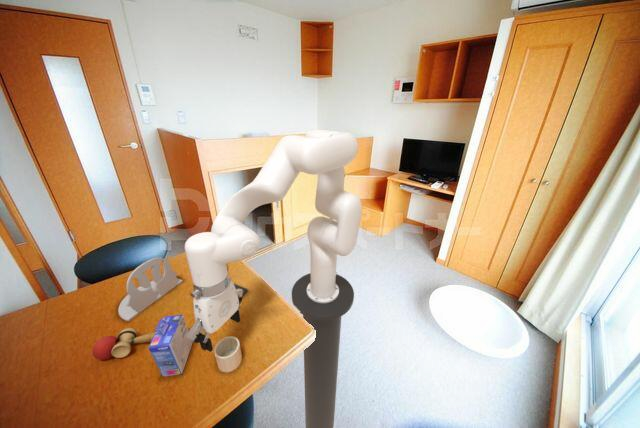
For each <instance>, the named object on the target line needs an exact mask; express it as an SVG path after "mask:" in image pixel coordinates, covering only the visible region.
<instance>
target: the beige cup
mask: <svg viewBox="0 0 640 428" xmlns="http://www.w3.org/2000/svg"><path fill="white" fill-rule="evenodd" d="M213 355H214V358H215V362H216V365H217V369H218V370H219V371H220V372H221V373H231V372H233V371H235V370H236V369H237V368H239V367H240V365H241V363H242V362H243V361H242V360H243V354H242V349H241V343H240V340H239V339H238V337H235V336H233V335H232V336H229V335H228V336H226V337H222V339H220V340H218V341H217V343H216V344H215V346H214V348H213Z"/></svg>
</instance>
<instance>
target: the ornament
mask: <svg viewBox="0 0 640 428" xmlns="http://www.w3.org/2000/svg"><path fill="white" fill-rule="evenodd" d="M161 265H162V267H163V274H162V269H161ZM149 270H150V275H151V278H152V280H151V279H150V277H149V275H148V274H147V273H146V271H149ZM177 275H178V271H175V270H173V268H172V264H171V262H169V260H168V259H166V258H163V257H154V258H151V259H149V260H146V261H145V262H143V263H142V264H139V265H138V266H137V267H136V268H135V269H133V270H132V271H131V273H130V274H129V276H128V279H127V281H126V296H124V298H122V300H121V301H120V303H119V306H118V309H117V312H118V313H117V314H118V315H119V317H120V318H121V319H122V320H123V321H126V322H130V321H131V320H132V319H134V318H135V317H137V316H138V315H139V314H141V313H142V312H143V311H145V310H146V309H148V308H149V307H150V306H151V305H153V304H154V303H156V302H157V301H158V300H160V299H161V298H163V297H164V296H165V295H166V294H168V293H169V292H170V291H172V290H173V289H175V288H176V287H178V285H180V284H181V283H183V282H184V280H183V279H181V278H178V277H177ZM132 279H136V281H137V282H138V285H139V286H138V287H137V286H136V285H135V282H134V281H133V280H132Z"/></svg>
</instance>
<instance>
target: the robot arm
mask: <svg viewBox="0 0 640 428" xmlns="http://www.w3.org/2000/svg"><path fill="white" fill-rule="evenodd" d="M358 150H359V144H358V140H357V139H356V136H355V135H353V134H352V133H351V132H346V131H340V130H339V131H338V130H331V129H323V128H314V129H310V130H308V131H307V132H305V134H304V136H302V135H296V134H289V135H285V136H283V137H282V138H281V139H280V140H279V141H278V142H277V144H276V145H275V147H274V149H273V150H272V152H271V153H270V154H269V156H268V158H267V160H266V161H265V163H264V164H263V166H262V167H261V169H260V170H259V172H258V173H257V175H256V177H255V178H254V179H253V180H252V181H251V182H250V183H249V184H247V185H246V186H244V187H242V188H241V189H240V190H238V191H237V192H236V193H234V194H233V195H232V196H231V197H230V198H229V199H228V200H227V201H226V202H225V203H224V204H223V206H222V208H221V209H220V211H218V214H217V215H216V217H215V218H214V220H213V223H212V225H211V229H210V231H204V232H199V233H195V234H192V235H191V236H190V237H188V239H187V240H186V241H185V243H184V251H185V255H186V260H187V264H188V268H189V272H190V276H191V281H192V284H193V285H192V286H193V287H192V288H193V290H192V291H191V292H190V296H191V297H192V298H193V299H192V301H193V303H192V305H193V314H194V320H195V322H194V323H193V324H192V326H191V328H189V330H188V331H189V332H188V334H187V335H186V338H187V339H188V340H190V341H192V342H193V343H195V344H199V345H200V348H201V350H203V351H207V352H210V353H211V352H212V351H214V348H213V344H212V339H211V338H210V336H211V334H213V333H216V332H217V331H218V330H219V329H220V328H221V327H222V326H223V325H224V324H225V323H226V322H228V320H229V319H230V320H232V321H233V322H236V323H240V322H241V315H240V309H241V307H242V306H241V303H242V301H243V297H242V294H243V290H242V289H236V288H235V286H234V284H235V283H234V282H233V280H232V278H231V277H229V273H228V267H227V264H230V263H234V262H235V263H236V262H239V261H240V262H241V261H244V260H248V259H249V258H251V257H253V256H255V255H256V254H257V253H258V252H259V250H260V248H261V238H260V236H259V234H257V232H255V231H254V230H253V229H251V228H249V226H247V225H245V224H244V222H245V220H246V219H247V217H248V216H249V214H251V212H253V211H254V210H255V209H257V208H259V207H260V206H261V207H262V206H263V205H267V204H272V203H277V202H280V201H282V200H283V199H285V197H286V196H287V194H288V192H289V190H290V188H291V187H292V185H293V184H294V183H295V181H296V179H297V178H298V176H299V175H300V173H304V174H307V175H311V176H313V175H315V176H316V175H317V182H316V190H315V199H314V208H315V210H316V211H317V212H318V213H319V214H321V216H315V217H313V218H312V219H311V220H310V221H309V223H308V225H307V239H308V242H309V252H310V273H311V283H310V284H309V285H308V286H307V295H308V297H309V298H310V299H311V300H312V301H314V302H317V303H330V302H332V301H334V300H335V299H336V298H337V297H338V295H339V288H338V286H337V284H336V283H335V281H336V275H337V274H338V273H337V259H338V256H341V257H346V256H349V255H350V254H351V253H352V252H353V250H354V249H355V247H356V244H357V241H358V235H359V230H360V224H361V219H362V213H363V203H362V201H361V199H360V197H359V196H358V195H357V194H354V193H352V192H349V191H345V188H344V186H345V175H346V172H345V171H346V170H345V167H346V166H348V165H349V164H350V163H352V162H353V161H354V159H355V158H356V157H357V154H358ZM322 215H323V216H322ZM204 331H205V333H204Z"/></svg>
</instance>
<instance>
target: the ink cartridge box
mask: <svg viewBox="0 0 640 428" xmlns="http://www.w3.org/2000/svg"><path fill="white" fill-rule="evenodd" d="M154 330H155V332H156V334H155V336H154V338H153V339H152V341H150V342H149V343H150V344H149V345H148V350H149V352H150V354H151V356H152V358H153V360H154V362H155V364H156V366H157V369H158V370H159V372H160V374H161V376H162V377H169V376H170V377H171V376H178V375H182V374H183V372H184V370H185V367H186V364H187V360H188V358H189V355H190V352H191V349H192V346H193V343H194V342H193V341H190V340H188V339H187V338H186V335H187V334H188V332H189V331H190V330H189V328H188V325H187V322H186V319H185V316H184V314H175V315H167V316H163V318H160V320H159V321H158V323H157V325H156V327H155V328H154Z"/></svg>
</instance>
